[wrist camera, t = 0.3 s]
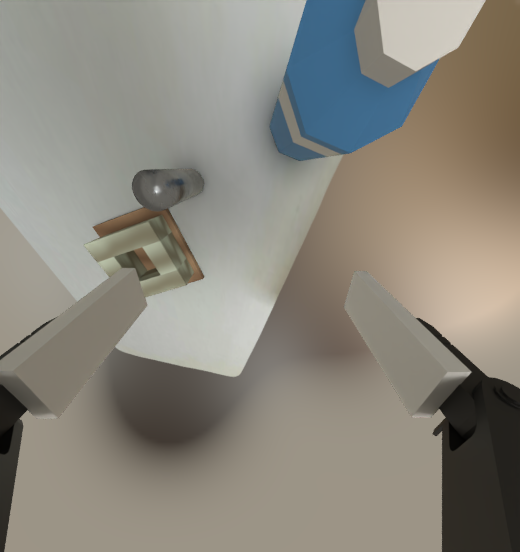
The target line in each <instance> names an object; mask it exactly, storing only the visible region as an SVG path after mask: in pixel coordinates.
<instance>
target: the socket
mask: <svg viewBox="0 0 520 552" xmlns="http://www.w3.org/2000/svg"><path fill="white" fill-rule="evenodd" d="M93 228H94V230H95V231H96V232H97V234H98V235H99V236H100V238H98V239H96V240H93V241H91V242H89V243H87V244H84V246H85V248H86V249H87V250H88V251H89V253H90V254H91V255H92V256H93V258H94V259H95V260H96V261H97V262H98V264H99V265H100V266H101V267H102V269H103V270H104V271H105V272H106V274H107V275H108V276H109V277H111V276H112V275H113V274H115V273H116V272H117V271H119V270H120V269H121V268H135V269H136V272H137V275H138V278H139V281H140V284H141V287H142V290H143V293H144V296H145V297H148V296H152V295H155V294H158V293H162V292H165V291H168V290H172V289H175V288H178V287H182V286H185V285H187V283H191V282H194V281H197V280H201V279H203V278H204V275H203V273H202V271H201V270H200V268H199V266H198V264H197V262H196V260H195V258H194V256H193V255H192V253H191V251H190V249H189V247H188V245H187V243H186V242H185V240H184V238H183V236H182V234H181V232H180V230H179V228H178V227H177V225H176V223H175V221H174V219H173V217H172V215H171V214H170V212H169V210H168V208H167V209H165V210H163V211H151V210H149V209H147V208H145V207H144V208H141V209H139V210H136V211H133V212H131V213H128V214H125V215H123V216H120V217H117V218H115V219H112V220H109V221H107V222H104V223H101V224H99V225H96V226H93Z"/></svg>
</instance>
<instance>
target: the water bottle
mask: <svg viewBox="0 0 520 552" xmlns="http://www.w3.org/2000/svg"><path fill="white" fill-rule="evenodd" d="M484 2H485V0H307V1H306V4H305V8H304V11H303V15H302V18H301V21H300V25H299V28H298V31H297V35H296V38H295V42H294V45H293V48H292V52H291V55H290V59H289V62H288V65H287V69H286V72H285V76H284V79H283V82H282V86H281V89H280V93H279V96H278V99H277V103H276V106H275V110H274V113H273V116H272V120H271V123H270V130H271V132H272V135H273V138H274V140H275V143H276V146H277V148H278V151H279V152H280V153H282V154H284V155H287V156H289V157H292V158H294V159H297V160H299V161H302V160H308V159H315V158H322V157H328V156H335V155H342V154H349V153H352V152H354V151H356V150H357V149H359V148H361V147H363V146H365V145H367V144H369V143H371V142H373V141H375V140H377V139H379V138H380V137H382V136H384V135H386V134H388V133H390V132H392V131H394V130H396V129H398V128H400V127H402V125H403V123H404V122H405V120H406V118H407V116H408V114H409V112H410V111H411V109H412V107H413V105H414V104H415V102H416V100H417V98H418V96H419V95H420V93H421V91H422V89H423V88H424V86H425V84H426V82H427V80H428V79H429V77H430V75H431V73H432V71H433V70H434V68H435V66H436V64H437V62H438V61H439V59H440V58H441V57H443V56H444V55H446V54H448V53H450V52H451V51H453V50H455V49H456V48H458V47H459V45H460V43H461V42H462V40H463V38H464V37H465V35H466V33H467V31H468V30H469V28H470V26H471V24H472V22H473V21H474V19H475V18H476V16H477V14H478V12H479V11H480V9H481V7H482V5H483V4H484Z"/></svg>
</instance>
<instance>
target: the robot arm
mask: <svg viewBox="0 0 520 552" xmlns="http://www.w3.org/2000/svg"><path fill="white" fill-rule="evenodd" d="M146 306H147V302H146V299H145V296H144V293H143V290H142V287H141V284H140V281H139V278H138V275H137V272H136V269H135V268H121V269H120V270H119V271H117V272H116V273H115V274H113V275H112V276H111V277H110V278H108V279H107V280H106V281H104V282H103V283H102V284H100V285H99V286H98V287H96V288H95V289H94V290H92V291H91V292H90V293H88V294H87V295H86V296H84V297H83V298H82V299H80V300H79V301H78V302H76V303H75V304H74V305H72V306H71V307H70V308H69V309H67V310H66V311H65V312H63V313H62V314H61V315H59V316H58V317H56V318H54V319H52V320H50V321H48V322H46V323H45V324H43V325H42V326H40V327H39V328H37V329H36V330H35V331H33V332H32V333H31V335H28V336H27V337H26V338H24V339H23V340H21V341H20V343H17V344H16V345H15V346H13V347H12V348H10V349H9V350H8V351H6V352H5V353H4V354H2V355H1V356H0V552H4V549H5V543H6V536H7V529H8V523H9V516H10V510H11V503H12V496H13V489H14V483H15V476H16V470H17V463H18V457H19V450H20V444H21V437H22V431H23V423H22V420H20V419H19V418H20V417H21V416H22V415H23V414H24V413H25V412H26V411H27V410H28V411H29V412H31V414H32V415H34V416H35V417H36V418H37V419H52V418H54V419H55V418H56V419H58V418H59V417H60V416H61V414H62V413H63V412H64V411H65V409H66V408H67V407H68V406H69V404H70V403H71V402H72V400H73V399H74V398H75V397H76V395H77V394H78V393H79V392H80V390H81V389H82V388H83V386H84V385H85V384H86V383H87V381H88V380H89V379H90V378H91V376H92V375H93V374H94V373H95V371H96V370H97V369H98V367H99V366H100V365H101V364H102V362H103V361H104V360H105V359H106V357H107V356H108V355H109V353H110V352H111V351H112V349H113V348H114V347H115V346H116V345H117V343H118V342H119V341H120V339H121V338H122V337H123V336H124V334H125V333H126V332H127V331H128V329H129V328H130V327H131V326H132V324H133V323H134V322H135V320H136V319H137V318H138V317H139V315H140V314H141V313H142V312H143V310H144V309H145V308H146ZM344 308H345V310H346V311H347V313H348V315H349V316H350V318H351V320H352V321H353V323H354V324H355V326H356V328H357V329H358V331H359V332H360V334H361V336H362V338H363V339H364V341H365V342H366V344H367V346H368V347H369V349H370V350H371V352H372V354H373V355H374V357H375V359H376V360H377V362H378V364H379V365H380V367H381V369H382V370H383V372H384V373H385V375H386V377H387V378H388V380H389V382H390V383H391V385H392V386H393V388H394V390H395V391H396V393H397V394H398V396H399V398H400V399H401V401H402V403H403V404H404V406H405V408H406V409H407V411H408V413H409V414H410V415H411V417H432V416H433V415H434V414H435V413H436V412H437V410H438V409H440V410H441V411H442V413H443V414H444V416H445V417H446V418H445V419H444V420H443V421H442V422H441V423H440V424H439V425H438V426H437V427H436V428H435V429H434V432H433V435H435V436H437V435H438V434H439V433H440V432H441V431H442V552H520V389H519V388H518V387H516V386H514V385H512V384H510V383H508V382H506V381H503V380H500V379H497V378H489V377H487V376H486V375H485V374H484V373H483V372H482V371H480V369H479V368H477V367H476V366H475V365H474V364H473V363H472V362H471V361H470V360H469V359H468V358H466V357H465V356H464V355H463V354H462V353H461V352H460V351H459V350H458V349H457V348H456V347H454V346H453V345H451V344H450V342H449V341H448V340H447V339H446V338H445V337H442V335H441V334H440V333H439V332H438V331H437V330H436V329H435V328H434V327H432V326H431V325H430V324H428V323H426V322H425V321H423V320H421V319H420V318H415V317H414V316H413V315H411V313H410V312H409V311H408V310H407V309H406V308H404V307H403V306H402V305H401V304H400V303H399V302H398V301H397V300H396V299H395V298H394V297H393V296H392V295H391V294H390V293H389V292H388V291H387V290H386V289H385V288H384V287H383V286H382V285H381V284H380V283H378V281H376V280H375V279H374V278H373V277H372V276H371V275H370V274H369V273H368V272H367V271H355V272H354V274H353V278H352V281H351V285H350V288H349V292H348V295H347V298H346V301H345V305H344Z"/></svg>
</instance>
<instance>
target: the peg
mask: <svg viewBox="0 0 520 552" xmlns="http://www.w3.org/2000/svg"><path fill="white" fill-rule="evenodd" d="M203 188H204V181H203V178H202V176H201V174H200V173H199V172H198V171H196V170H194V169H158V170H142V171H140V172H138V173H137V174H136V175H135V176H134V178H133V182H132V189H133V193H134V195H135V197H136V199H137V200H138V202H139V203H140V204H141V205H142V206H144V207H145V208H147V209H149V210H151V211H163V210H165V209H167V208H169V207H172V206H174V205H176V204H178V203H180V202H182V201H185V200H187V199H189V198H191V197H193V196H195V195H198V194H199V193H201V192H202V190H203Z"/></svg>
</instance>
